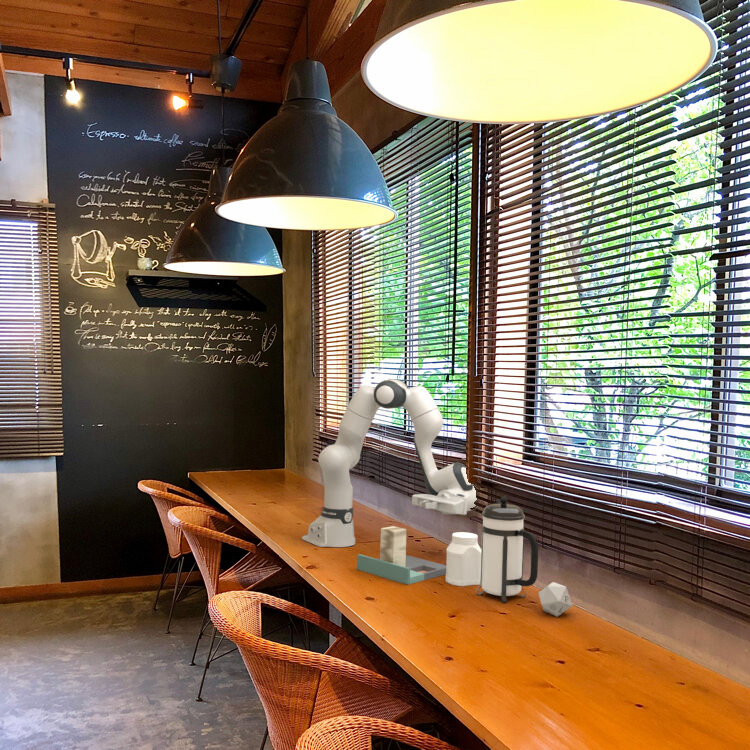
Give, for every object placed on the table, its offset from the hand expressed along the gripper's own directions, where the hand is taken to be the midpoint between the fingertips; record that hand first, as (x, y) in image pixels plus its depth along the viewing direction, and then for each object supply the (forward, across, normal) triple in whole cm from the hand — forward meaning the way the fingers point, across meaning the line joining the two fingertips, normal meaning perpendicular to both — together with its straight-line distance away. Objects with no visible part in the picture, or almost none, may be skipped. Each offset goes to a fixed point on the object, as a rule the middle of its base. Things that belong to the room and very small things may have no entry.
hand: (423, 505), depth 243 cm
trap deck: (+9, +1, +21) cm, 23 cm away
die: (+8, +57, +20) cm, 61 cm away
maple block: (+15, +1, +19) cm, 24 cm away
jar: (+3, +21, +21) cm, 30 cm away
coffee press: (+6, +39, +21) cm, 45 cm away
